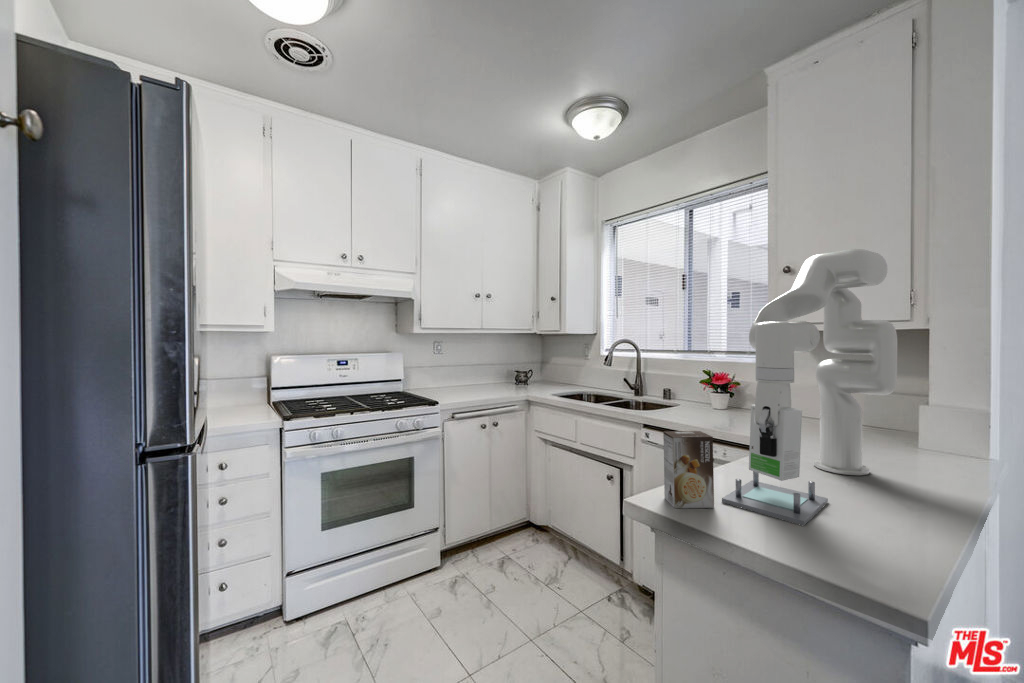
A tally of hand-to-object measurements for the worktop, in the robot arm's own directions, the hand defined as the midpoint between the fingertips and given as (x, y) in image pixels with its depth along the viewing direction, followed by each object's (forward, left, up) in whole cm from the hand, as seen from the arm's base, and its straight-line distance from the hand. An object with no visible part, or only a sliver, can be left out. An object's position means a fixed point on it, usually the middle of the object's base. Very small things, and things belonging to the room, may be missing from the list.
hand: (774, 451), depth 95 cm
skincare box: (0, 0, -5) cm, 5 cm away
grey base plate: (0, 0, -12) cm, 12 cm away
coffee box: (+15, -13, -12) cm, 23 cm away
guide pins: (0, 0, -12) cm, 12 cm away
